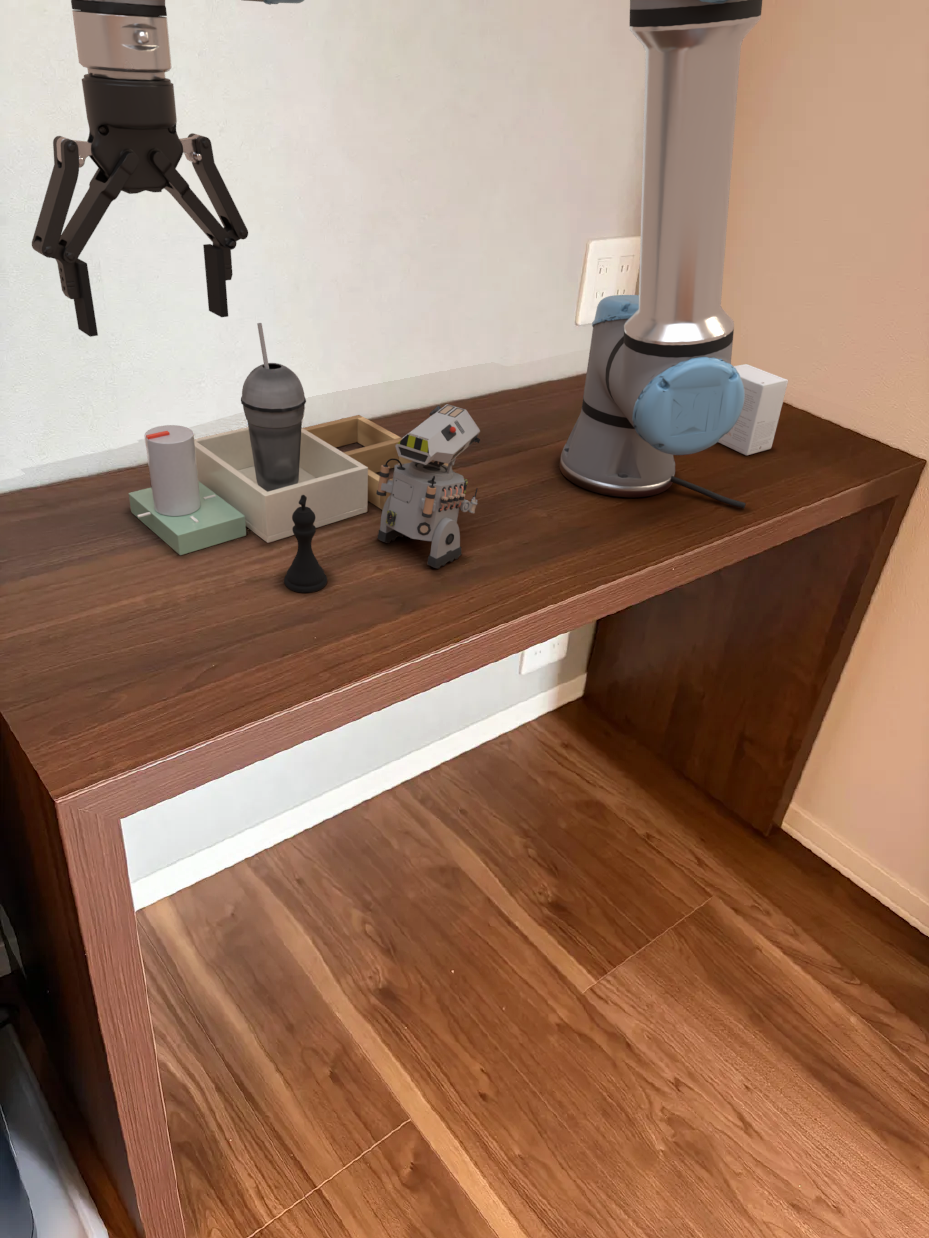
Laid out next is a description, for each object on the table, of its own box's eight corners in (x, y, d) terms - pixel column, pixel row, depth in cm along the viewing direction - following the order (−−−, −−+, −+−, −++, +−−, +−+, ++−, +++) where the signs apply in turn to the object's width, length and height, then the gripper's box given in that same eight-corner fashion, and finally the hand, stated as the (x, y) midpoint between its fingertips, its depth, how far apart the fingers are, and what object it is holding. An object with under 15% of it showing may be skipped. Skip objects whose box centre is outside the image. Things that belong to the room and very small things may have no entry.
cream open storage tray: (367, 512, 109) (368, 467, 106) (267, 543, 101) (264, 496, 98) (287, 460, 120) (286, 418, 117) (191, 485, 112) (187, 440, 109)
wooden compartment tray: (450, 490, 116) (451, 465, 114) (384, 511, 110) (385, 485, 108) (358, 438, 127) (359, 414, 125) (295, 454, 121) (294, 429, 119)
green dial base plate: (246, 535, 102) (245, 514, 101) (166, 560, 97) (163, 538, 95) (195, 495, 110) (193, 475, 108) (117, 516, 104) (114, 494, 103)
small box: (771, 450, 134) (790, 380, 128) (745, 456, 131) (764, 385, 126) (730, 430, 140) (746, 362, 134) (704, 436, 137) (720, 367, 131)
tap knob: (187, 492, 105) (179, 418, 100) (209, 508, 102) (201, 434, 97) (146, 503, 102) (135, 428, 97) (166, 520, 99) (157, 444, 94)
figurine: (494, 542, 105) (506, 417, 97) (425, 576, 98) (432, 445, 89) (435, 514, 110) (442, 393, 102) (366, 545, 102) (367, 417, 94)
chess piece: (278, 589, 94) (273, 501, 88) (292, 568, 97) (288, 482, 92) (319, 596, 93) (318, 507, 88) (332, 574, 97) (331, 488, 91)
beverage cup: (296, 510, 107) (289, 338, 96) (237, 500, 108) (224, 329, 97) (317, 484, 113) (313, 319, 102) (261, 475, 114) (251, 311, 103)
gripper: (-11, 75, 69) (42, 352, 81) (276, 80, 84) (285, 315, 96) (-42, 66, 74) (11, 330, 86) (235, 72, 88) (248, 298, 100)
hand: (156, 323), depth 91 cm, fingers open, 13 cm apart
